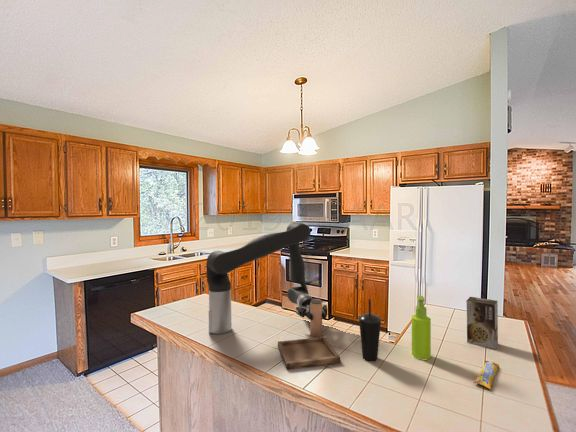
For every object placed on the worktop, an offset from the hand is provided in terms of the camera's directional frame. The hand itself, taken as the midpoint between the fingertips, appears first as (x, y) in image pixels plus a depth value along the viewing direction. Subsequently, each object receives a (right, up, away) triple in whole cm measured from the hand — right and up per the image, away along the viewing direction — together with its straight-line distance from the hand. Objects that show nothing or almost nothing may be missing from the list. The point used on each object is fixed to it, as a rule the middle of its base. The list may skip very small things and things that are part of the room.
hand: (318, 317), depth 115 cm
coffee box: (+61, -8, -6) cm, 61 cm away
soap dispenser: (+34, -8, -15) cm, 38 cm away
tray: (-5, -8, -14) cm, 17 cm away
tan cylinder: (-1, -8, +3) cm, 8 cm away
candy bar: (+48, -9, -28) cm, 56 cm away
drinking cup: (+16, -8, -16) cm, 24 cm away
